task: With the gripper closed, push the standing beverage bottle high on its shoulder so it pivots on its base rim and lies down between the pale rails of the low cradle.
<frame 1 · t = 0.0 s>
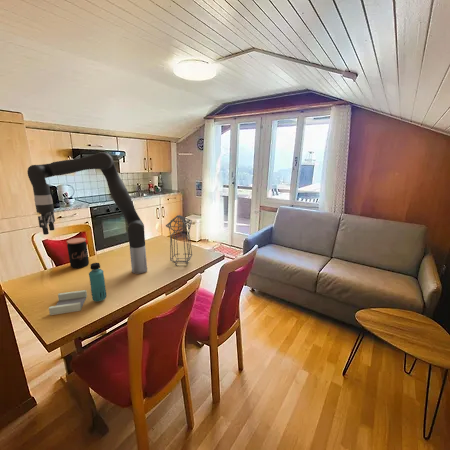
hand: (49, 232, 126), 29 cm above the table, fingers open, 8 cm apart
beverage bottle: (99, 300, 115), on the table
geometric lantern: (180, 263, 160), on the table
cradle: (69, 304, 110), on the table
coffee jar: (80, 265, 153), on the table
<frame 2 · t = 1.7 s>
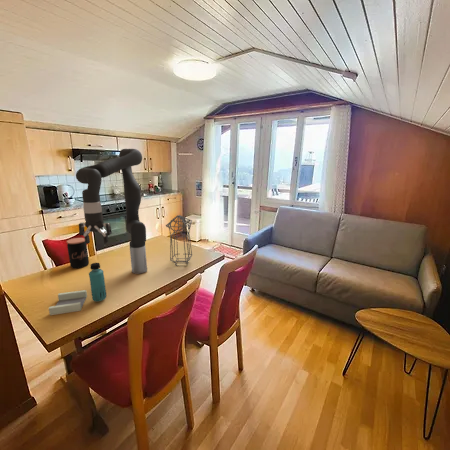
hand: (97, 243, 113), 28 cm above the table, fingers open, 8 cm apart
nothing on the table moved.
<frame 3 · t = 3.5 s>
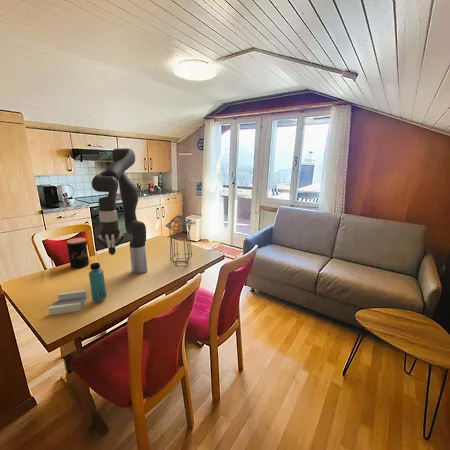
hand: (112, 254, 111), 24 cm above the table, fingers closed
nothing on the table moved.
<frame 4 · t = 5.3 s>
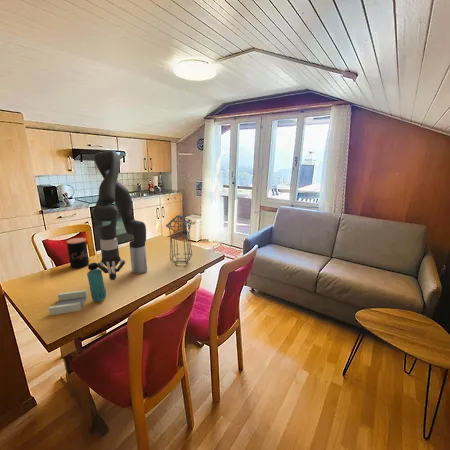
hand: (113, 279, 114), 11 cm above the table, fingers closed
beverage bottle: (99, 300, 115), on the table, touching hand
everything else where it was.
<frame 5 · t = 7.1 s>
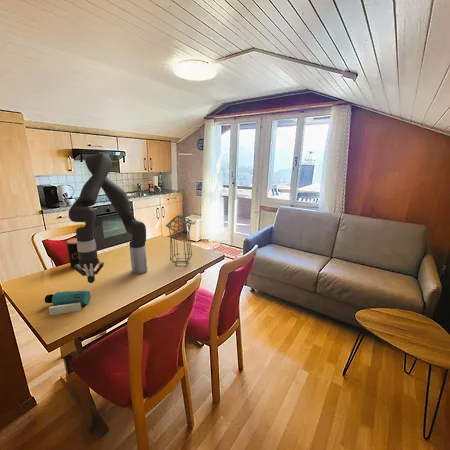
hand: (91, 282, 111), 11 cm above the table, fingers closed
beverage bottle: (91, 297, 111), point 4 cm above the table, touching cradle
everything else where it was.
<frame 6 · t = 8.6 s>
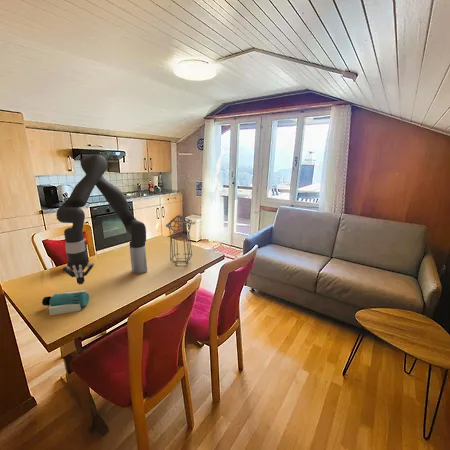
hand: (81, 283, 110), 11 cm above the table, fingers closed
beverage bottle: (90, 299, 109), point 3 cm above the table, touching cradle
everything else where it was.
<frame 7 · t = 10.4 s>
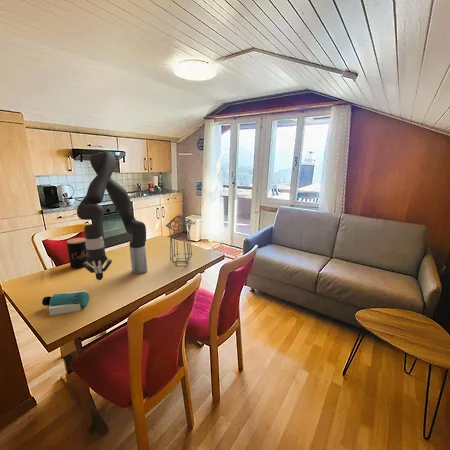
hand: (99, 279, 112), 12 cm above the table, fingers closed
nothing on the table moved.
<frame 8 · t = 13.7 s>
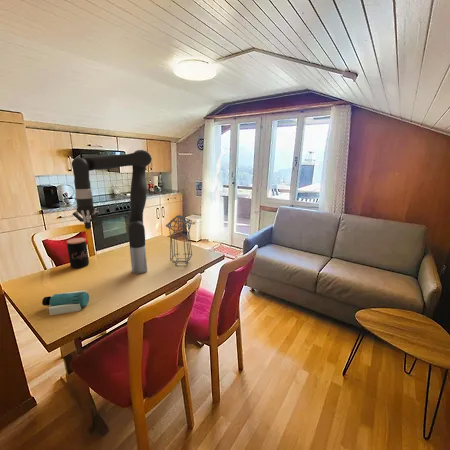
hand: (88, 228, 125), 32 cm above the table, fingers closed
nothing on the table moved.
at the end: beverage bottle tilted 89°; beverage bottle inside the target area (7.2 cm from its centre), point 3.5 cm above the table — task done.
